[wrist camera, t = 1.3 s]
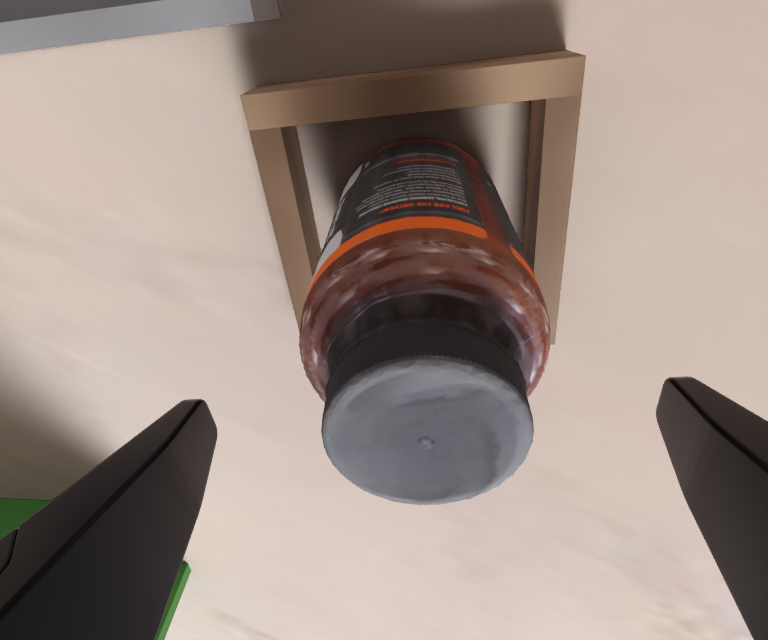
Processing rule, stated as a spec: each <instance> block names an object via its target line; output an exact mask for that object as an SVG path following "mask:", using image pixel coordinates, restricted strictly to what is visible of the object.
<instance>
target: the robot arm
mask: <svg viewBox="0 0 768 640" xmlns="http://www.w3.org/2000/svg"><path fill="white" fill-rule="evenodd" d="M656 418H657V422H658V425H659V428H660V431H661V434H662V436H663V439H664V442H665V445H666V448H667V451H668V453H669V456H670V459H671V462H672V465H673V468H674V470H675V473H676V476H677V479H678V482H679V484H680V487H681V490H682V492H683V495H684V497H685V499H686V501H687V504H688V506H689V508H690V510H691V512H692V514H693V516H694V518H695V520H696V522H697V525H698V527H699V529H700V531H701V533H702V535H703V537H704V539H705V541H706V543H707V545H708V547H709V549H710V551H711V553H712V555H713V557H714V559H715V561H716V563H717V566H718V568H719V570H720V572H721V574H722V576H723V578H724V580H725V582H726V584H727V586H728V588H729V590H730V592H731V594H732V596H733V598H734V600H735V602H736V604H737V606H738V609H739V611H740V613H741V615H742V617H743V619H744V621H745V623H746V625H747V627H748V629H749V631H750V633H751V635H752V637H753V639H754V640H768V421H766V420H764V419H763V418H761V417H759V416H758V415H756V414H754V413H753V412H751V411H749V410H747V409H746V408H744V407H742V406H741V405H739V404H737V403H736V402H734V401H732V400H731V399H729V398H727V397H725V396H724V395H722V394H720V393H719V392H717V391H715V390H714V389H712V388H710V387H708V386H707V385H705V384H703V383H702V382H700V381H698V380H697V379H695V378H692V377H670V378H668V379H666V380H665V382H664V384H663V388H662V391H661V395H660V398H659V402H658V405H657V409H656ZM216 440H217V427H216V424H215V422H214V420H213V417H212V415H211V413H210V410H209V408H208V406H207V404H206V402H205V401H204V400H202V399H191V400H183V401H181V402H180V403H179V404H177V405H176V406H175V407H173V408H172V409H171V410H169V411H168V412H167V413H165V414H164V415H163V416H162V417H160V418H159V419H158V420H156V421H155V422H154V423H152V424H151V425H150V426H148V427H147V428H146V429H145V430H143V431H142V432H141V433H139V434H138V435H137V436H135V437H134V438H133V439H131V440H130V441H129V442H127V443H126V444H125V445H124V446H122V447H121V448H120V449H118V450H117V451H116V452H114V453H113V454H112V455H110V456H109V457H108V458H107V459H105V460H104V461H103V462H101V463H100V464H99V465H97V466H96V467H95V468H93V469H92V470H91V471H90V472H88V473H87V474H86V475H84V476H83V477H82V478H80V479H79V480H78V481H76V482H75V483H74V484H73V485H71V486H70V487H69V488H67V489H66V490H65V491H63V492H62V493H61V494H59V495H58V496H57V497H55V498H54V499H53V500H52V501H50V502H49V503H48V504H46V505H45V506H44V507H42V508H41V509H40V510H38V511H37V512H36V513H35V514H33V515H32V516H31V517H29V518H28V519H27V520H25V521H24V522H23V523H21V524H20V525H19V528H15V529H13V530H12V531H11V532H10V533H8V534H7V535H6V536H4V537H3V538H2V539H0V640H155V638H156V635H157V632H158V629H159V626H160V623H161V620H162V617H163V615H164V612H165V609H166V606H167V603H168V600H169V597H170V595H171V592H172V589H173V586H174V583H175V580H176V577H177V574H178V572H179V569H180V566H181V563H182V560H183V557H184V554H185V551H186V549H187V546H188V543H189V540H190V537H191V534H192V531H193V529H194V526H195V523H196V520H197V517H198V514H199V511H200V508H201V504H202V500H203V496H204V492H205V488H206V484H207V479H208V475H209V471H210V466H211V462H212V458H213V453H214V449H215V445H216Z"/></svg>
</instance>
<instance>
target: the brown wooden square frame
mask: <svg viewBox="0 0 768 640" xmlns="http://www.w3.org/2000/svg"><path fill="white" fill-rule="evenodd" d="M585 58H586V56H585V55H581V54H578V53H575V52H571V51H568V50H563V51H554V52H546V53H537V54H529V55H520V56H511V57H503V58H494V59H486V60H477V61H469V62H460V63H452V64H443V65H434V66H426V67H417V68H409V69H400V70H392V71H383V72H375V73H366V74H357V75H349V76H340V77H332V78H323V79H315V80H306V81H297V82H289V83H280V84H272V85H263V86H257V87H256V88H254V89H252V90H250V91H248V92H246V93H244V94H242V95H241V100H242V104H243V108H244V112H245V116H246V120H247V124H248V128H249V132H250V136H251V140H252V144H253V148H254V152H255V156H256V160H257V164H258V168H259V172H260V176H261V180H262V184H263V188H264V192H265V196H266V200H267V204H268V208H269V212H270V216H271V220H272V224H273V228H274V232H275V236H276V240H277V244H278V248H279V252H280V256H281V260H282V264H283V268H284V272H285V276H286V280H287V284H288V288H289V292H290V296H291V300H292V304H293V308H294V312H295V316H296V320H297V324H298V328H299V332H300V323H301V317H302V312H303V307H304V303H305V300H306V297H307V294H308V291H309V288H310V285H311V283H312V280H313V277H314V274H315V271H316V268H317V265H318V262H319V258H320V255H321V250H320V245H319V240H318V235H317V230H316V225H315V220H314V215H313V210H312V205H311V200H310V195H309V189H308V184H307V179H306V174H305V169H304V164H303V159H302V154H301V149H300V144H299V139H298V134H297V129H296V126H297V125H306V124H315V123H325V122H334V121H343V120H353V119H362V118H371V117H381V116H390V115H399V114H409V113H418V112H427V111H437V110H446V109H455V108H465V107H474V106H483V105H493V104H502V103H511V102H521V101H530V100H531V113H530V131H529V149H528V167H527V185H526V203H525V221H524V239H523V250H524V253H525V255H526V257H527V259H528V262H529V264H530V266H531V268H532V271H533V273H534V275H535V277H536V280H537V282H538V285H539V287H540V290H541V292H542V295H543V297H544V300H545V304H546V307H547V312H548V317H549V321H550V329H551V332H550V345H551V344H555V336H556V327H557V318H558V308H559V299H560V290H561V281H562V271H563V262H564V253H565V244H566V234H567V225H568V216H569V207H570V197H571V188H572V179H573V170H574V160H575V151H576V142H577V132H578V123H579V114H580V105H581V95H582V86H583V77H584V68H585Z"/></svg>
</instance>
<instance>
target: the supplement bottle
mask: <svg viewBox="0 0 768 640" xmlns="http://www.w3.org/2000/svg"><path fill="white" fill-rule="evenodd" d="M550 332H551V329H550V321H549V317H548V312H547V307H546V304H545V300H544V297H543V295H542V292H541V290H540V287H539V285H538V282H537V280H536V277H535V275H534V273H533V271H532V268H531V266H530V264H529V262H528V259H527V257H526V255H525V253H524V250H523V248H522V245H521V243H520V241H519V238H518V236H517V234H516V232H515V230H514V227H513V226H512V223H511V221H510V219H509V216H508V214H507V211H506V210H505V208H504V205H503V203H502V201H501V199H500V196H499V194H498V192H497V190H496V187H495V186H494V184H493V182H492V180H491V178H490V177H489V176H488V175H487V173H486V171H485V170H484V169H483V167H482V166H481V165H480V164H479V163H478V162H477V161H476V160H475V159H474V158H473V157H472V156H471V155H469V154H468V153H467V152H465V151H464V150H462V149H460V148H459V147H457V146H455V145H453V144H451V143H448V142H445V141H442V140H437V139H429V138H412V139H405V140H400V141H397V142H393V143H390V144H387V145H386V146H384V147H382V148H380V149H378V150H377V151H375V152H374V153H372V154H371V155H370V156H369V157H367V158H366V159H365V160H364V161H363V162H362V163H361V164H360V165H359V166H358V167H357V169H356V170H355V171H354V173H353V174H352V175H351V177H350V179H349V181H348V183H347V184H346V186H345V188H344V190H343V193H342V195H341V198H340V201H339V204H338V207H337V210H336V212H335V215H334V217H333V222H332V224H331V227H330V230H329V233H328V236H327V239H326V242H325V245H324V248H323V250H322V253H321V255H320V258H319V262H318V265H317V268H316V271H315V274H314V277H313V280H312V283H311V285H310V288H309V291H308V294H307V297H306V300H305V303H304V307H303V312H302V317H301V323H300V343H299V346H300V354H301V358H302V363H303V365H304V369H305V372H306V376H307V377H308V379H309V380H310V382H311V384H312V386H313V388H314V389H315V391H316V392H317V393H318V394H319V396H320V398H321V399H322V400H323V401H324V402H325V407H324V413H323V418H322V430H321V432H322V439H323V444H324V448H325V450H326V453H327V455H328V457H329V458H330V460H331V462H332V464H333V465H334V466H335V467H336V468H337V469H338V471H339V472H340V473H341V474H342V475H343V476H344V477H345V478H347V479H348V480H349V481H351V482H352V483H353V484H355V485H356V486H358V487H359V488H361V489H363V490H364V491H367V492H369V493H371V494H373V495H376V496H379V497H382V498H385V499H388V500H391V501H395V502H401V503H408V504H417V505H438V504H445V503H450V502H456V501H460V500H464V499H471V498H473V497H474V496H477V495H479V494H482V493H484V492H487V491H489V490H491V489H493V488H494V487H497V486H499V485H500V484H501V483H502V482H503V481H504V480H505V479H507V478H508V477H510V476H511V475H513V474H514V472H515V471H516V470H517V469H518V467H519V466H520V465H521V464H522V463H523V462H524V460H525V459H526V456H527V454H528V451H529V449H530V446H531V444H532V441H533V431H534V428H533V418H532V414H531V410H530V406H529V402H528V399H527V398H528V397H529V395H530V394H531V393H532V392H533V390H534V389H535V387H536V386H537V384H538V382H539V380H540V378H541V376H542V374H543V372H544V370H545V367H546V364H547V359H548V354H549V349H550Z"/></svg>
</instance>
